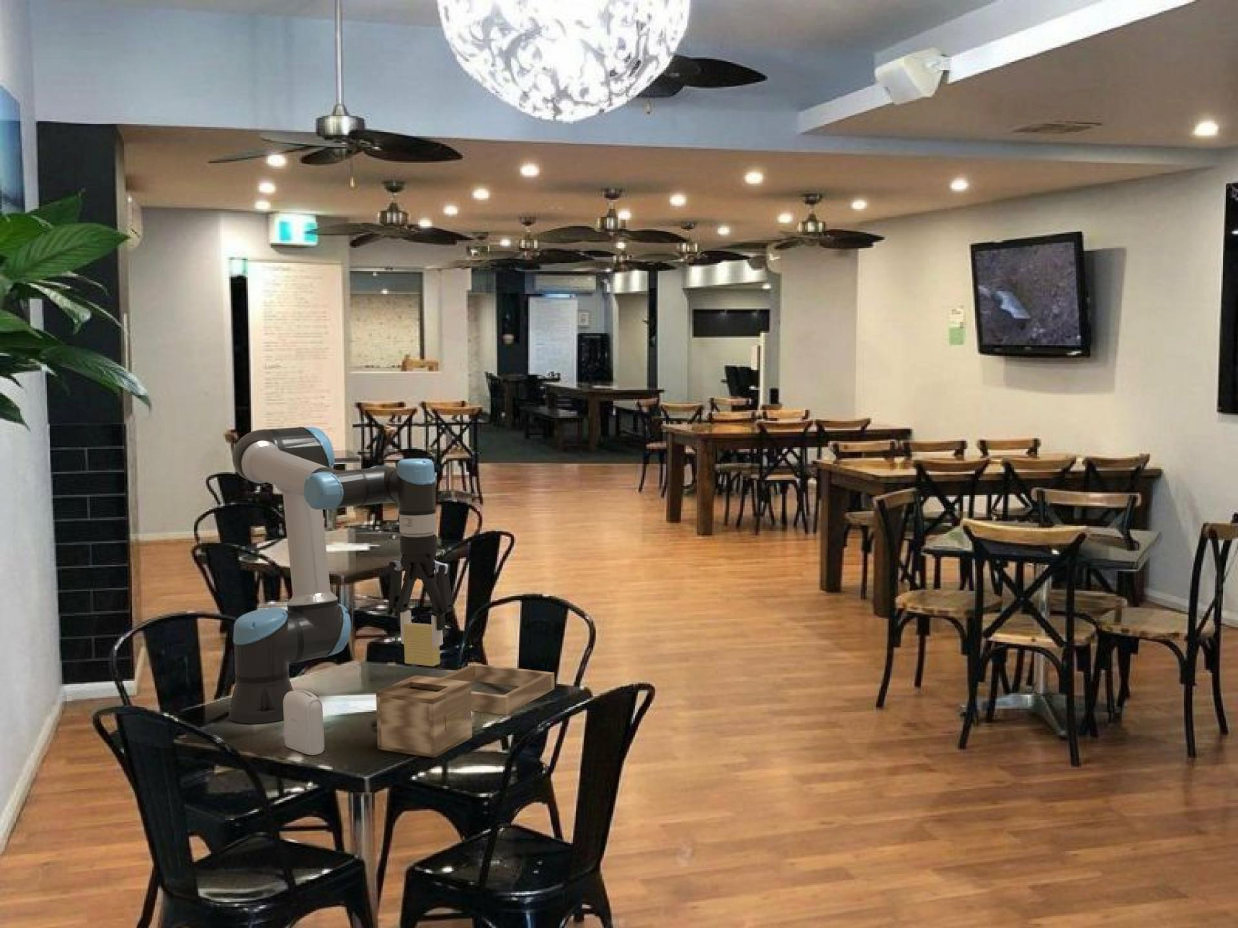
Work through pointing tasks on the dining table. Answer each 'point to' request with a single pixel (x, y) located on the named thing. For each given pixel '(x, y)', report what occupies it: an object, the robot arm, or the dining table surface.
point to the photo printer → (303, 722)
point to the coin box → (424, 715)
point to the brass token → (420, 645)
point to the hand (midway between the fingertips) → (422, 643)
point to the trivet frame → (526, 680)
